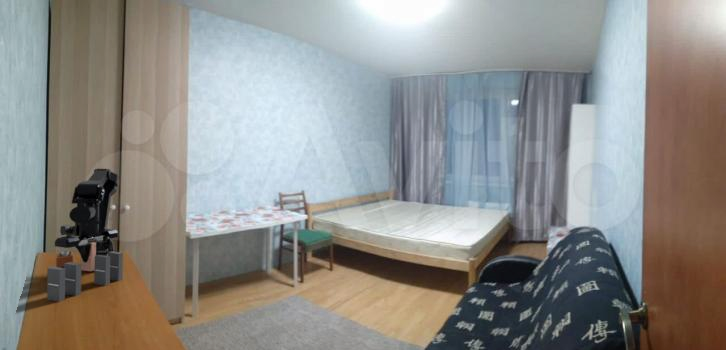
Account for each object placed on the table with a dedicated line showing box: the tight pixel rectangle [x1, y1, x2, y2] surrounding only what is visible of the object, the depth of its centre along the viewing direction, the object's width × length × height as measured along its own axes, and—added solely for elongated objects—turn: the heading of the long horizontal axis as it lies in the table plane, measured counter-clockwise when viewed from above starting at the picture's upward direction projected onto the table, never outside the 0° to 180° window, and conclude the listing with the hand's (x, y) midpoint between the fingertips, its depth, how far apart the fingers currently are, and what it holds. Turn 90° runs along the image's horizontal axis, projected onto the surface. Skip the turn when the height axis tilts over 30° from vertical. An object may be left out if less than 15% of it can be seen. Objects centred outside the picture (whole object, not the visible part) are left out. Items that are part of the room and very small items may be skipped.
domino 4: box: [93, 255, 111, 286], centre depth 124 cm, size 2×5×10 cm, turn 76°
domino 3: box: [79, 242, 96, 272], centre depth 126 cm, size 2×5×10 cm, turn 76°
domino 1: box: [46, 266, 66, 303], centre depth 110 cm, size 2×5×10 cm, turn 76°
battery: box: [55, 250, 74, 268], centre depth 127 cm, size 4×7×10 cm, turn 37°
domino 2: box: [64, 262, 82, 297], centre depth 115 cm, size 2×5×10 cm, turn 76°
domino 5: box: [108, 251, 124, 282], centre depth 129 cm, size 2×5×10 cm, turn 76°
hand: (88, 261), depth 126 cm, fingers closed on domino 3, 2 cm apart
